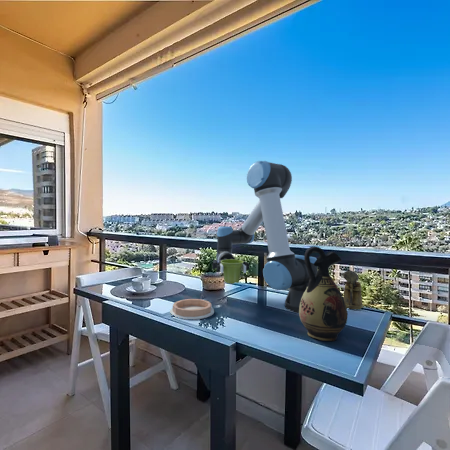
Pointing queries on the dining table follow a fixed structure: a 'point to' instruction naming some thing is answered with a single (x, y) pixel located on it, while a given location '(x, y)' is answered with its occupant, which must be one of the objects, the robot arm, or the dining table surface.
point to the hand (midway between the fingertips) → (233, 269)
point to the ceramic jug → (322, 299)
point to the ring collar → (192, 309)
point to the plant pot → (231, 270)
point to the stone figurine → (352, 291)
